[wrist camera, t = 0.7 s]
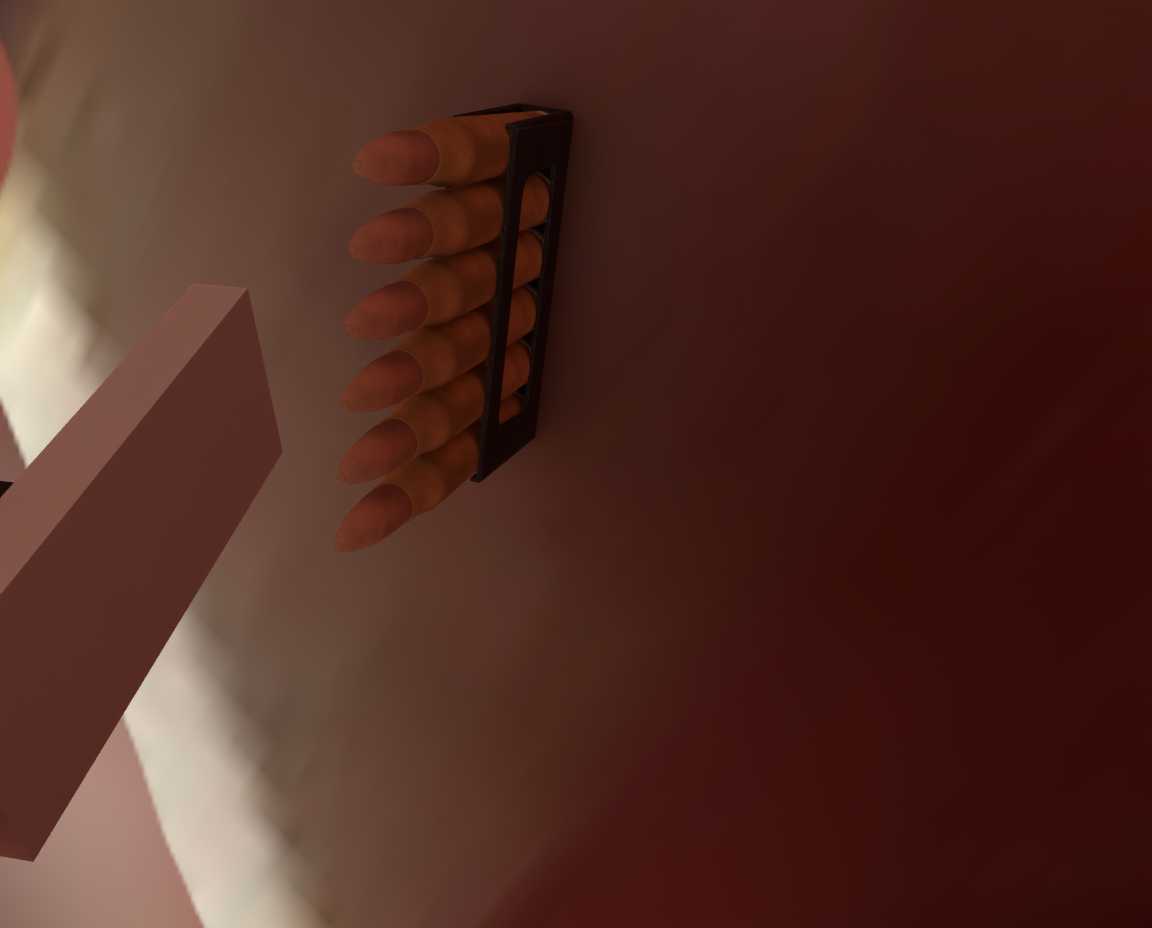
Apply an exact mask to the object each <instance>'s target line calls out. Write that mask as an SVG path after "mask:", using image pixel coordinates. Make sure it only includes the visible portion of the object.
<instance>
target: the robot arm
mask: <svg viewBox="0 0 1152 928" xmlns="http://www.w3.org/2000/svg"><path fill="white" fill-rule="evenodd" d="M282 452H283V451H282V447H281V442H280V437H279V433H278V428H277V423H276V419H275V414H274V409H273V404H272V400H271V395H270V390H269V386H268V381H267V376H266V372H265V367H264V362H263V358H262V353H261V348H260V343H259V339H258V334H257V329H256V325H255V320H254V315H253V311H252V306H251V301H250V297H249V292H248V288H241V287H231V286H220V285H210V284H199V283H192V284H191V285H190V286H189V288H188V289H187V290H186V291H185V292H184V293H183V294H182V295H181V297H180V298H179V299H178V300H177V301H176V302H175V303H174V304H173V305H172V307H171V308H170V309H169V310H168V311H167V312H166V313H165V314H164V316H163V317H162V318H161V319H160V320H159V321H158V322H157V323H156V324H155V326H154V327H153V328H152V329H151V330H150V331H149V332H148V333H147V335H146V336H145V337H144V338H143V339H142V340H141V341H140V342H139V343H138V345H137V346H136V347H135V348H134V349H133V350H132V351H131V352H130V354H129V355H128V356H127V357H126V358H125V359H124V360H123V361H122V362H121V364H120V365H119V366H118V367H117V368H116V369H115V370H114V371H113V373H112V374H111V375H110V376H109V377H108V378H107V379H106V380H105V381H104V383H103V384H102V385H101V386H100V387H99V388H98V389H97V390H96V392H95V393H94V394H93V395H92V396H91V397H90V398H89V399H88V400H87V402H86V403H85V404H84V405H83V406H82V407H81V408H80V409H79V411H78V412H77V413H76V414H75V415H74V416H73V417H72V418H71V419H70V421H69V422H68V423H67V424H66V425H65V426H64V427H63V428H62V430H61V431H60V432H59V433H58V434H57V435H56V436H55V437H54V438H53V440H52V441H51V442H50V443H49V444H48V445H47V446H46V447H45V449H44V450H43V451H42V452H41V453H40V454H39V455H38V456H37V458H36V459H35V460H34V461H33V462H32V463H31V464H30V465H29V466H28V468H27V469H26V470H25V471H24V472H23V473H22V474H21V475H20V477H19V478H18V479H17V480H16V481H15V482H14V483H13V482H5V481H0V856H3V857H9V858H15V859H21V860H27V861H34V860H35V858H36V856H37V855H38V853H39V852H40V850H41V848H42V847H43V845H44V843H45V842H46V840H47V838H48V836H49V835H50V833H51V832H52V830H53V829H54V827H55V825H56V824H57V822H58V820H59V819H60V817H61V815H62V814H63V812H64V810H65V809H66V807H67V806H68V804H69V802H70V801H71V799H72V797H73V796H74V794H75V792H76V791H77V789H78V787H79V786H80V784H81V783H82V781H83V779H84V777H85V776H86V774H87V772H88V771H89V769H90V767H91V766H92V764H93V763H94V761H95V760H96V758H97V756H98V755H99V753H100V751H101V749H102V748H103V746H104V744H105V743H106V741H107V740H108V738H109V737H110V735H111V733H112V732H113V730H114V728H115V727H116V725H117V723H118V722H119V720H120V718H121V717H122V715H123V713H124V712H125V710H126V709H127V707H128V705H129V704H130V702H131V700H132V699H133V697H134V695H135V694H136V692H137V690H138V689H139V687H140V686H141V684H142V682H143V681H144V679H145V677H146V676H147V674H148V672H149V671H150V669H151V667H152V666H153V664H154V662H155V661H156V659H157V658H158V656H159V654H160V653H161V651H162V649H163V648H164V646H165V644H166V643H167V641H168V639H169V638H170V636H171V635H172V633H173V631H174V630H175V628H176V626H177V625H178V623H179V621H180V620H181V618H182V616H183V615H184V613H185V612H186V610H187V608H188V607H189V605H190V603H191V602H192V600H193V598H194V597H195V595H196V593H197V592H198V590H199V588H200V587H201V585H202V584H203V582H204V580H205V579H206V577H207V575H208V574H209V572H210V570H211V569H212V567H213V565H214V564H215V562H216V561H217V559H218V557H219V556H220V554H221V552H222V551H223V549H224V547H225V546H226V544H227V542H228V541H229V539H230V537H231V536H232V534H233V533H234V531H235V529H236V528H237V526H238V524H239V523H240V521H241V519H242V518H243V516H244V514H245V513H246V511H247V510H248V508H249V506H250V505H251V503H252V501H253V500H254V498H255V496H256V495H257V493H258V491H259V490H260V488H261V486H262V485H263V483H264V482H265V480H266V478H267V477H268V475H269V473H270V472H271V470H272V468H273V467H274V465H275V463H276V462H277V460H278V459H279V457H280V455H281V454H282Z"/></svg>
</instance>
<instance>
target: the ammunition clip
mask: <svg viewBox="0 0 1152 928" xmlns="http://www.w3.org/2000/svg"><path fill="white" fill-rule="evenodd" d="M572 126H573V117H572V114H571V112H570V111H564V110H558V109H551V108H545V107H538V106H532V105H525V104H519V103H518V104H512V105H507V106H502V107H497V108H491V109H486V110H481V111H475V112H470V113H465V114H460V115H454V116H452V117H449V118H437V119H433V120H431V121H429V122H427V123H425V124H423V125H421V126H420V127H415V128H410V129H407V130H405V131H397V132H392V133H389V134H386V135H383V136H381V137H379V138H377V139H375V140H373V141H371V142H369V143H367V144H366V145H365V146H364V147H362V148H361V149H360V150H359V151H358V152H357V154H356V155H355V157H354V159H353V162H352V165H353V168H354V170H355V171H356V172H357V173H358V174H359V175H360V176H362V177H363V178H366V179H368V180H371V181H374V182H376V183H380V184H384V185H398V186H401V185H423V184H431V185H434V186H438V187H446V189H441V190H437V191H432V192H430V193H427V194H425V195H423V196H420V197H419V198H417V199H416V200H415V201H413V202H412V203H411V204H408V205H405V206H403V207H401V208H398V209H396V210H393V211H389V212H387V213H385V214H383V215H380V216H378V217H376V218H374V219H372V220H370V221H369V222H367V223H366V224H365V225H364V226H362V227H361V228H360V229H359V230H358V231H357V232H356V233H355V234H354V236H353V237H352V239H351V240H350V243H349V246H348V250H349V252H350V254H351V255H352V256H354V257H355V258H357V259H359V260H362V261H364V262H369V263H375V264H393V263H402V262H406V261H409V260H412V259H421V258H425V257H437V258H434V259H432V260H429V261H426V262H424V263H421V264H419V265H417V266H415V267H413V268H412V269H411V270H410V271H409V272H408V273H407V274H406V275H405V276H404V277H402V278H400V279H398V280H396V281H394V282H392V283H391V284H390V285H388V286H385V287H383V288H380V289H378V290H376V291H375V292H373V293H372V294H370V295H369V296H367V297H366V298H365V299H363V300H362V301H361V302H360V303H359V304H358V305H357V306H356V307H355V308H354V309H353V311H352V312H351V313H350V314H349V316H348V318H347V320H346V323H345V332H346V333H347V334H348V335H350V336H352V337H355V338H358V339H385V338H390V337H394V336H397V335H400V334H403V333H405V332H408V331H410V330H414V331H412V332H411V333H409V334H408V335H407V336H406V337H405V338H404V339H403V340H402V341H401V342H400V343H399V344H398V346H396V347H394V348H393V349H391V350H390V351H388V352H387V353H386V354H385V355H383V356H381V357H380V358H378V359H376V360H374V361H373V362H371V363H370V364H369V365H368V366H366V367H365V368H364V369H363V370H362V371H361V372H359V373H358V374H357V375H356V376H355V377H354V379H353V380H352V381H351V382H350V383H349V385H348V386H347V388H346V389H345V391H344V393H343V396H342V399H341V406H342V408H343V409H345V410H347V411H351V412H371V411H376V410H380V409H383V408H386V407H389V406H392V405H394V404H397V403H399V402H400V403H399V404H398V405H397V406H396V408H395V409H394V410H393V412H392V413H391V414H390V415H388V416H387V417H386V418H384V419H383V420H382V421H381V422H380V423H379V424H378V425H376V426H375V427H373V428H372V429H370V430H369V431H368V432H367V433H366V434H365V435H364V436H362V437H361V438H360V439H359V440H358V441H357V442H356V443H355V444H354V445H353V446H352V447H351V449H350V450H349V451H348V452H347V454H346V456H345V457H344V459H343V460H342V462H341V465H340V467H339V470H338V480H339V481H340V482H342V483H347V484H358V483H363V482H367V481H370V480H373V479H376V478H379V477H382V476H384V475H386V474H388V473H389V474H388V475H387V477H386V478H385V479H384V480H383V481H382V482H380V483H379V484H378V485H377V486H376V487H375V488H374V489H373V490H372V491H371V492H370V493H369V494H367V495H366V496H365V497H364V498H363V499H362V500H360V501H359V503H358V504H357V505H356V506H355V507H354V508H353V509H352V510H351V511H350V512H349V514H348V515H347V516H346V518H345V519H344V521H343V523H342V524H341V526H340V528H339V530H338V532H337V535H336V537H335V542H334V547H335V549H336V550H337V551H340V552H351V551H355V550H358V549H362V548H365V547H368V546H370V545H373V544H375V543H377V542H379V541H381V540H382V539H384V538H386V537H387V536H389V535H391V534H392V533H393V532H394V531H396V530H397V529H398V528H399V527H400V526H402V525H404V524H406V523H407V522H409V521H410V520H412V519H413V518H414V517H416V516H417V515H419V514H421V513H424V512H427V511H429V510H431V509H433V508H434V507H436V506H437V505H438V504H439V503H440V502H442V501H443V500H444V499H445V498H446V497H447V496H449V495H450V494H451V493H452V492H453V491H454V490H456V489H457V488H458V487H459V486H460V485H461V484H463V483H464V482H465V481H466V480H467V479H468V478H469V477H471V476H472V475H473V474H474V473H475V472H476V471H477V473H476V474H475V475H474V476H472V477H471V478H470V481H473V482H477V483H479V482H481V481H482V480H484V479H485V478H486V477H487V476H489V475H490V474H491V473H492V472H493V471H495V470H496V469H497V468H498V467H499V466H501V465H502V464H503V463H504V462H506V461H507V460H508V459H509V458H510V457H512V456H513V455H514V454H515V453H517V452H518V451H519V450H520V449H521V448H523V447H524V446H525V445H526V444H527V443H529V442H530V441H531V440H532V439H534V437H535V430H536V422H537V413H538V405H539V397H540V389H541V381H542V372H543V364H544V356H545V348H546V340H547V331H548V323H549V315H550V307H551V298H552V290H553V282H554V274H555V266H556V257H557V249H558V241H559V233H560V225H561V216H562V208H563V200H564V192H565V183H566V175H567V167H568V159H569V151H570V142H571V134H572ZM417 328H418V329H417ZM415 329H416V330H415Z"/></svg>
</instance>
